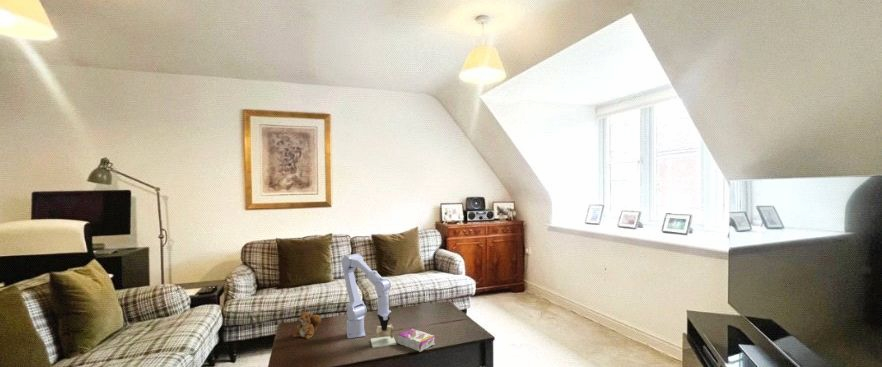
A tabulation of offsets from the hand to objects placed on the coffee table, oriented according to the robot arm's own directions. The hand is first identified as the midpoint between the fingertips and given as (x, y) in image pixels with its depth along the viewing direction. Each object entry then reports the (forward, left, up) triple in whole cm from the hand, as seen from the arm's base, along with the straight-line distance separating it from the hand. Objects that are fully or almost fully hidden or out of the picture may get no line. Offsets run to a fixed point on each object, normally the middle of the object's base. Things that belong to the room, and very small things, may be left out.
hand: (383, 329), depth 198 cm
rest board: (-1, 0, -7) cm, 7 cm away
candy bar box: (+11, -1, -4) cm, 11 cm away
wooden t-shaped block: (0, 0, -3) cm, 3 cm away
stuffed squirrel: (-39, +25, -7) cm, 46 cm away
